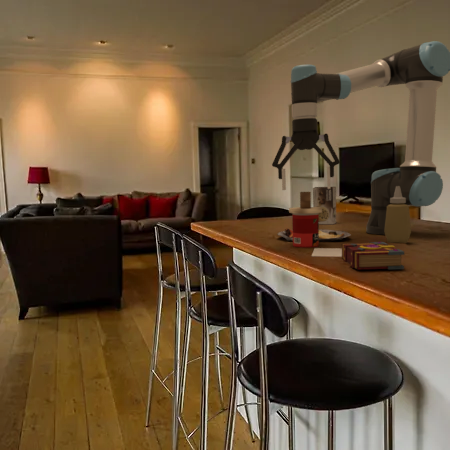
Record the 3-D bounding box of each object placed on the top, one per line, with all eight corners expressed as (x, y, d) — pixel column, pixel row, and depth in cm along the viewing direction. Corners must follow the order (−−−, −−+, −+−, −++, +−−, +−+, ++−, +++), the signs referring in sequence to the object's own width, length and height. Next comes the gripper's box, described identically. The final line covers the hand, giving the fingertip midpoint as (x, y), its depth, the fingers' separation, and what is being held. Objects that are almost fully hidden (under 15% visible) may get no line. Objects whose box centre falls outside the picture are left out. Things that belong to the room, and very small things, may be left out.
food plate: (266, 236, 183) (266, 227, 183) (322, 233, 192) (322, 223, 192) (302, 247, 160) (302, 236, 160) (363, 243, 169) (363, 232, 169)
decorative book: (356, 271, 119) (356, 250, 118) (339, 259, 135) (339, 240, 134) (404, 270, 119) (404, 249, 118) (382, 257, 135) (382, 239, 134)
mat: (363, 250, 148) (363, 248, 148) (364, 259, 135) (364, 256, 135) (314, 250, 151) (314, 248, 151) (311, 258, 138) (311, 256, 138)
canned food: (318, 249, 152) (318, 213, 151) (291, 249, 154) (291, 213, 153) (319, 245, 160) (318, 210, 159) (293, 245, 161) (293, 211, 160)
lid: (322, 210, 159) (322, 190, 159) (321, 213, 150) (321, 192, 149) (290, 210, 162) (290, 191, 161) (287, 213, 152) (287, 192, 151)
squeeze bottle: (397, 245, 156) (398, 187, 154) (378, 242, 163) (378, 186, 161) (416, 243, 159) (417, 185, 157) (397, 240, 166) (397, 185, 165)
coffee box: (336, 223, 224) (336, 186, 222) (333, 224, 218) (333, 187, 216) (316, 222, 228) (316, 186, 226) (312, 224, 222) (312, 187, 220)
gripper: (347, 117, 153) (348, 187, 156) (265, 122, 159) (267, 189, 162) (347, 114, 146) (348, 188, 149) (261, 120, 152) (264, 191, 154)
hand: (306, 189), depth 155 cm, fingers open, 13 cm apart
